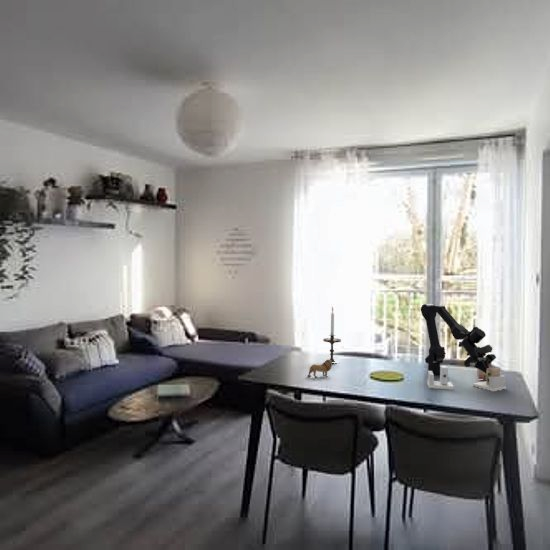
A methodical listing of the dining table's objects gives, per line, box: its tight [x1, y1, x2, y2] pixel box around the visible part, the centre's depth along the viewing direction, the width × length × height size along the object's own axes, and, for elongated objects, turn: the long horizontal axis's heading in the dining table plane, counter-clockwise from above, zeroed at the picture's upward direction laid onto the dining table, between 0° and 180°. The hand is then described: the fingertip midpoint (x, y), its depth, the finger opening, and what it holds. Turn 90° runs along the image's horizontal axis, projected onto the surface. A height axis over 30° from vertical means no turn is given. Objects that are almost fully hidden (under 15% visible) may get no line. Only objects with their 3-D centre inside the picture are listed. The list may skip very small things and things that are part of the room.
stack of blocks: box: [476, 354, 493, 380], centre depth 265 cm, size 21×6×12 cm, turn 159°
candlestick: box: [322, 306, 342, 362], centre depth 298 cm, size 11×11×35 cm
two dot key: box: [486, 367, 501, 385], centre depth 238 cm, size 3×6×8 cm, turn 120°
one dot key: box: [439, 364, 449, 384], centre depth 240 cm, size 3×6×8 cm, turn 167°
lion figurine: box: [306, 359, 333, 378], centre depth 258 cm, size 15×5×9 cm, turn 112°
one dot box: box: [426, 370, 455, 390], centre depth 241 cm, size 12×10×6 cm
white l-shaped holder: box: [472, 374, 507, 392], centre depth 240 cm, size 12×10×6 cm
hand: (490, 374), depth 240 cm, fingers closed, pressing on two dot key
